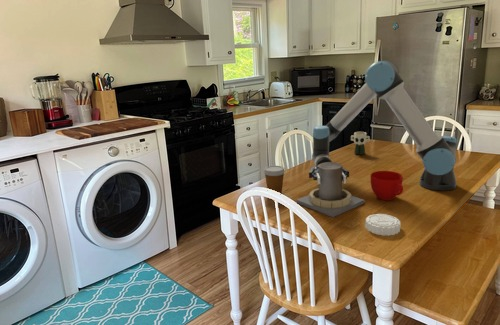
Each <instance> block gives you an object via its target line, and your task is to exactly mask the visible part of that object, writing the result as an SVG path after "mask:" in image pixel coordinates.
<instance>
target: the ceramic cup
mask: <svg viewBox="0 0 500 325" xmlns="http://www.w3.org/2000/svg"><path fill="white" fill-rule="evenodd" d="M403 180H404V176H403V175H402V174H401V173H399V172H397V171H396V172H395V171H390V170H377V171H373V172H372V173H371V174H370V186H371V190H372V192H373V194H374V195H375V196H376V197H377V199H379V200H383V201H391V200H394V198H395V197H397V196H400V195H401V194H403V191H404V187H403Z"/></svg>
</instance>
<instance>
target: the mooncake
mask: <svg viewBox="0 0 500 325" xmlns="http://www.w3.org/2000/svg"><path fill="white" fill-rule="evenodd" d="M364 226H365V229H366V230H367V231H368V232H369V233H372V234H375V235H381V236H383V237H385V236H387V237H388V236H395V235H397V234H399V233H400V232H401V228H402V227H401V220H400V219H398V217H395V216H393V215H389V214H386V213H375V214H370V215H368V216H367V217H366V218H365V225H364Z"/></svg>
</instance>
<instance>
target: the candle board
mask: <svg viewBox="0 0 500 325" xmlns="http://www.w3.org/2000/svg"><path fill="white" fill-rule="evenodd" d="M295 202H297V203H296V204H298V203H299V204H298V205H301V206H303V207H306V208H309V209H310V210H313V211H315V212H318V213H321V214H323V215H326V216H327V217H328V216H329V217H330V218H334V217H337V216H339V215H341V214H345V212H347V211H350V210H353V209H355V208H357V207H359V206H362V205H363V204H365V199H363V198H360V197H357V196H353V195H352V194H351V192H349V191H348V190H347V189H344V188H342V197H341V198H340V199H338V200H325V199H322V198H320V197H319V187H318V188H316V189H311V190H310V192H309V193H308V195H305V196H302V197H300V198H296V200H295Z"/></svg>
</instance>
